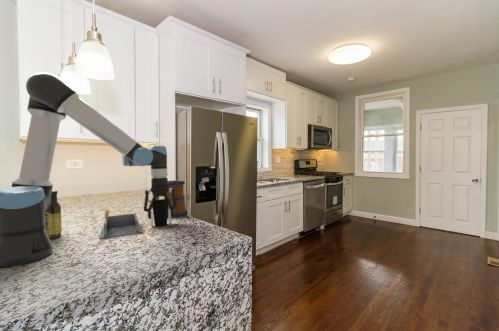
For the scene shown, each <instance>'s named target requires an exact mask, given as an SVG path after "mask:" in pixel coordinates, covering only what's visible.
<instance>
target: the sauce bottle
mask: <svg viewBox="0 0 499 331" xmlns="http://www.w3.org/2000/svg"><path fill="white" fill-rule="evenodd" d="M61 208H62V206H61V204H60V203H59V201H58V190H55V189H52V193H51V205H50V207H49V209H48V210H47V211H46V212H45V231H46V233H47V235H48V237H49V238H50V239H56V238H59V237H61V235H62V232H63V230H62V210H61Z"/></svg>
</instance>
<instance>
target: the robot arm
mask: <svg viewBox="0 0 499 331" xmlns="http://www.w3.org/2000/svg"><path fill="white" fill-rule="evenodd" d="M25 88H26V92H27V94H28V95H29V99H28V104H27V109H26V110H27V111H28V113H29V114H30V116H31V117H30V122H29V127H28V132H27V136H26V142H25V147H24V151H23V152H24V153H23V157H22V161H21V167H20V172H19V175H18V176H19V177H18V178H17V179H15V180H13V181H12V182H11V187H9V188H3V189H0V268H7V267H8V268H9V267H14V266H20V265H24V264H29V263H32V262H36V261H39V260H41V259H44V258H47V257H49V256H50V255H51V254H53V252H54V250H53V247H54V246H53V243H52V241H51V240H50V239H51V238H50V239H49V237H48V235H47V233H46V231H45V212H46V211H47V210H48V209H49V207H50V205H51V193H52V191H53V186H54V184H53V183H52V182H51V181H50V175H51V172H52V171H51V170H52V165H53V161H54V155H55V149H56V146H57V139H58V133H59V128H60V124H61V121H63V120H65V119H66V118H67V117H69V118H70V119H72V120H74V122H76V123H77V124H79V125H80V126H82V127H83V128H85V129H86V130H87V131H89V132H90V133H91V134H93V135H95V137H97V138H98V139H100V140H101V141H103V142H105V144H107V145H108V146H110V147H111V148H113V149H114V150H116V151H117V152H118V153H120V154H121V155H122V156H121V158H122V166H125V167H147V166H149V167H150V176H151V177H150V179H151V180H150V181H151V182H150V183H151V185H150V186H151V187H150V189H145V190H144V194H145V196H144V204H143V212H146V213H147V218H148V220H150V226H151V227H153V226H154V215H153V208H152V207H153V202H155V199H156V197H159V198H160V197H164V200H166V201H168V206H169V208H170V209H168V218H167V223H168V224H172V219H171V216H173V209H174V208H176V207H177V206H176V201H175V196H174V190H175V189H174V188H169V187H168V181H169V180H168V152H167V147H166V146H165V145H151V146H150V147H149V148H147V147H144V146H143V145H141V143H139V142H137V141H136V140H135V139H134V138H133V137H131V136H130V135H128V134H127V133H126V132H124V131H123V130H122V129H120V128H119V127H118V126H117V125H116V124H115V123H113V122H111V121H110V120H109V119H108V118H106V117H105V116H104V115H103V114H101V113H100V112H99V111H97V110H96V109H94V107H93V106H91V105H90V104H88V103H87V102H85V101H84V100H83V99H81V98H80V95H79V92H77V91H76V90H75V89H73V87H71V86H70V85H69V84H68V83H66V82H65V81H64V80H62V78H60V77H59V76H57V75H56V74H53V73H50V72H36V73H34V74H32V75H31V76H29V77H28V79H27V81H26V84H25ZM168 190H169V191H170V192H171V198H172V203H173V206H172V205H171V203H170V201H169V199H168V197H167V195H166V193H167V192H168ZM151 193H153V194H154V195H152V198H151V201H150V202H149V196H150V194H151ZM148 204H149V206H148Z"/></svg>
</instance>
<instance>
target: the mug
mask: <svg viewBox="0 0 499 331" xmlns="http://www.w3.org/2000/svg"><path fill="white" fill-rule="evenodd" d="M185 183H186V182H185V180H182V179H181V180H179V179H178V180H175V179H174V180H168V187H169V188H174V189H175V190H174V196H175V201H176V206H177V207H176V208H174V209H173V216H171V218H172V219H180V218H179V217H181V218H184V216H185V215H186V216H185V217H187V216H189V214H188V210H187V209H186V203H185V192H184V185H185ZM151 193H152V192H151ZM151 195H152V196H153V195H154V194H153V193H152V194H151ZM166 195H167V197H168V199H169V201H170V203H171V205H172V206H173V203H172V198H171V192H170V191H169V190H168V192H167V193H166ZM155 200H160V196H159V197H156V199H155ZM168 209H170V208H169V206H168ZM167 219H168V215H167Z"/></svg>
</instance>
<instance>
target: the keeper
mask: <svg viewBox="0 0 499 331" xmlns="http://www.w3.org/2000/svg"><path fill="white" fill-rule="evenodd" d="M109 211H110V210H109V209H107V208H106V209H104V222H103V227H102V228H101V232H100V236H99V240H105V239H110V238H117V237H124V236H129V235H130V236H131V235H137V234H143V229H142V226H141V222H139V218H138V216H137V213H134V212H133V213H128V214H127V213H126V214H119V215H109V214H110V212H109ZM104 238H105V239H104Z"/></svg>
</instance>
